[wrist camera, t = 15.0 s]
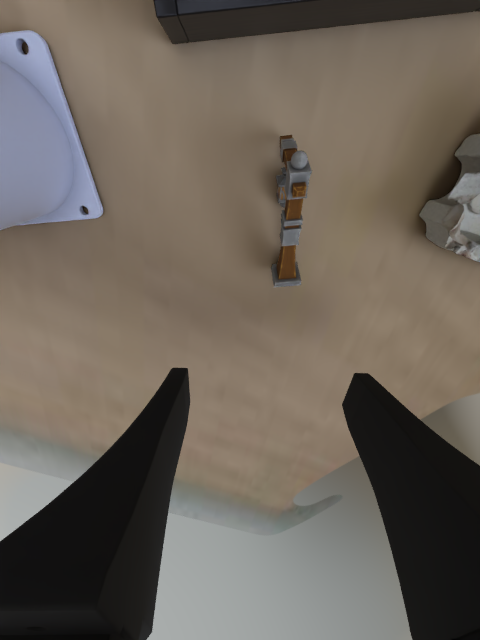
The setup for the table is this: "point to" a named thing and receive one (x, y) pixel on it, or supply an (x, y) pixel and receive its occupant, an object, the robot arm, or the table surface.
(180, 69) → the table surface
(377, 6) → the frame
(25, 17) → the table surface
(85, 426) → the table surface
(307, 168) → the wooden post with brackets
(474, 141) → the egg carton
